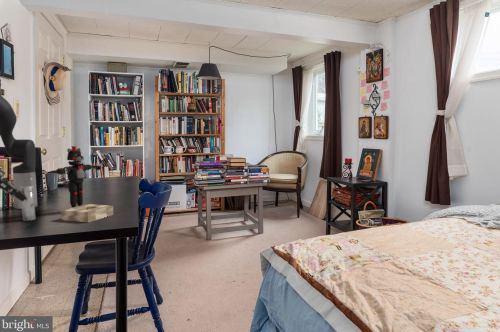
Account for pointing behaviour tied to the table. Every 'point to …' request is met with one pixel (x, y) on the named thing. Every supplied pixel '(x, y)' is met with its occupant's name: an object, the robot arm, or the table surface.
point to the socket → (87, 213)
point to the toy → (75, 175)
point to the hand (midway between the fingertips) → (23, 198)
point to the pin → (28, 203)
